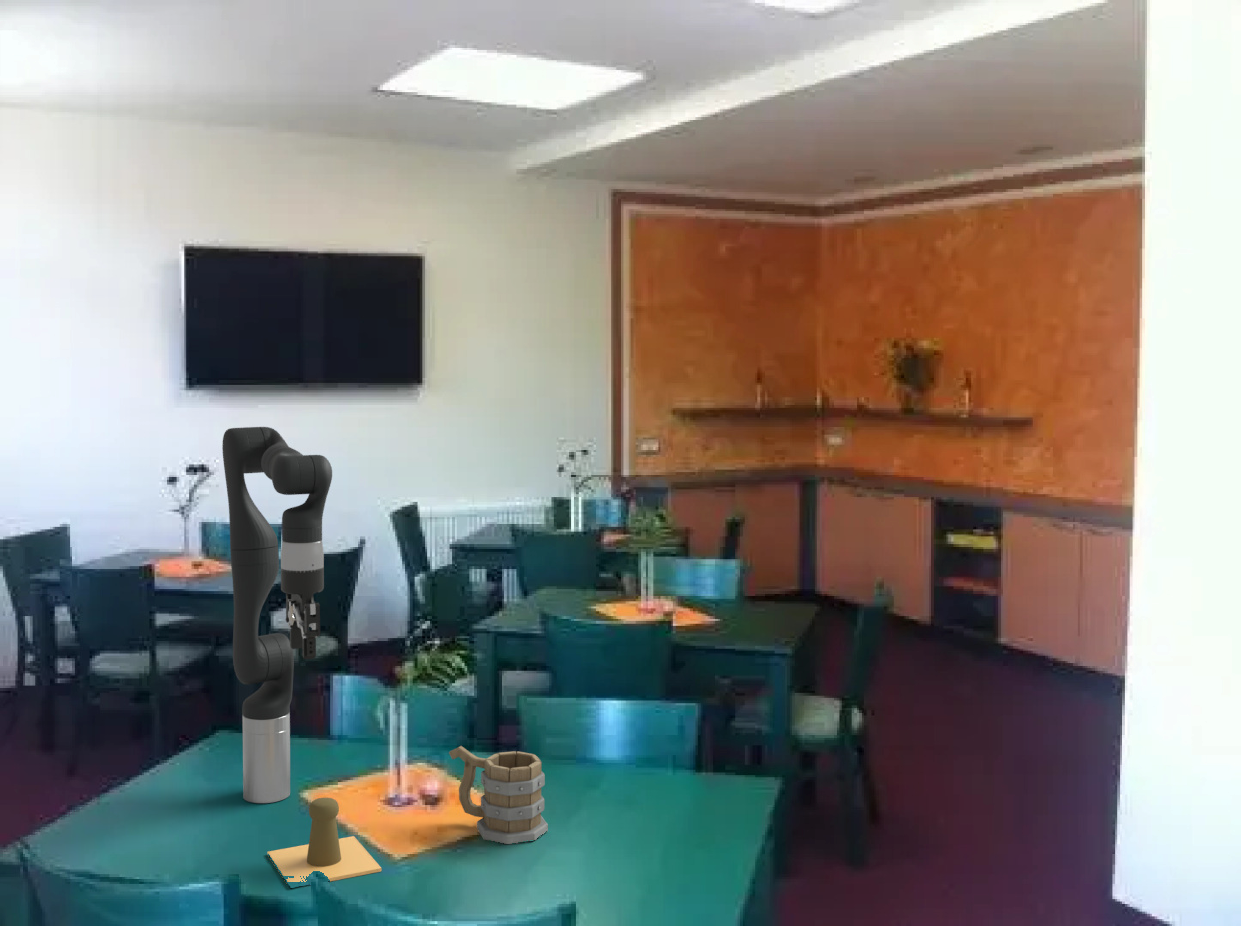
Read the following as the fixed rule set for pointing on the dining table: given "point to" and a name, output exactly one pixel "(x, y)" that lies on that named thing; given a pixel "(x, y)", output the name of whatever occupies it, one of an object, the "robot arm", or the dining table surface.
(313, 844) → the cork
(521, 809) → the tankard
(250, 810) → the dining table surface
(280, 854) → the placemat
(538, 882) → the dining table surface
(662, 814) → the dining table surface
